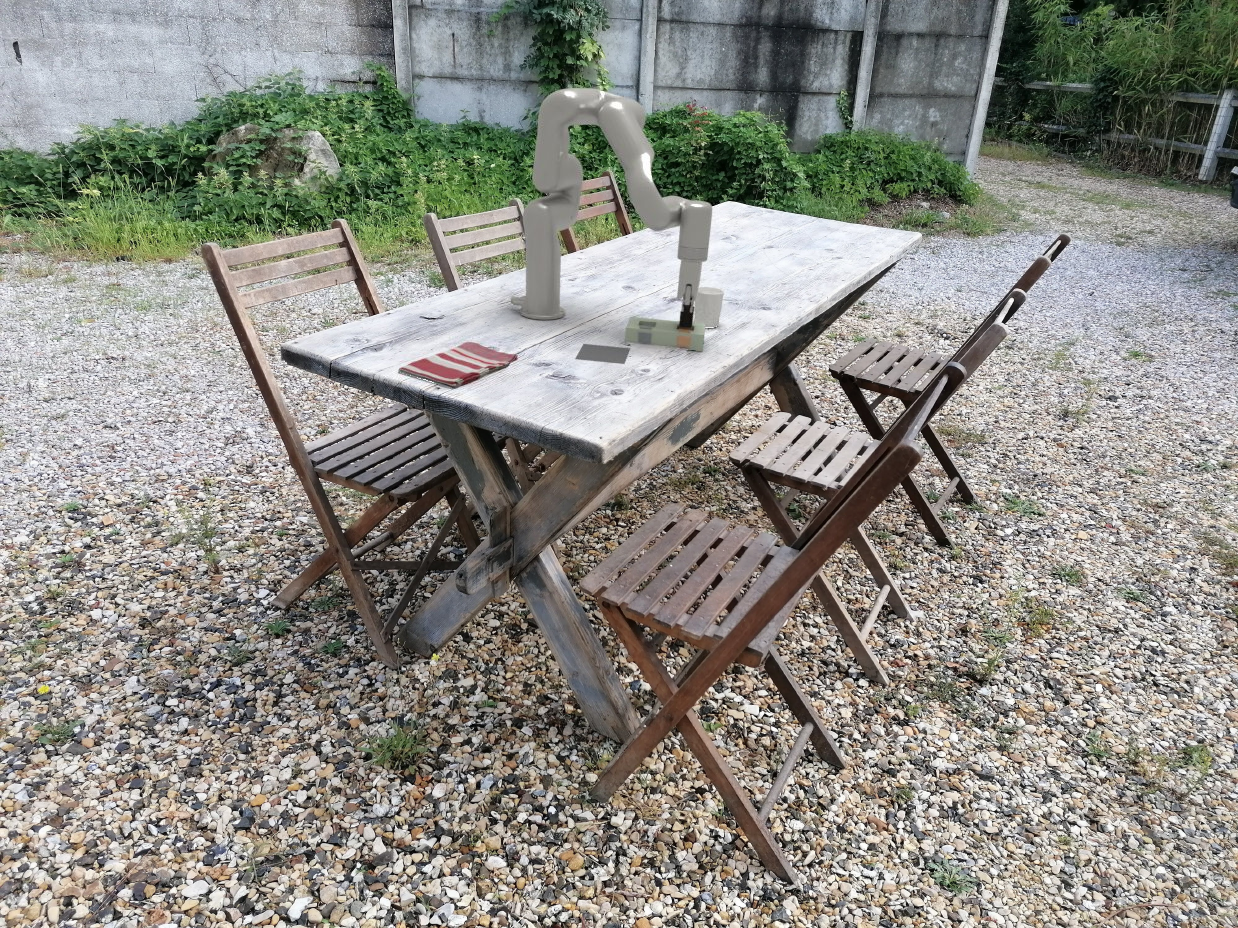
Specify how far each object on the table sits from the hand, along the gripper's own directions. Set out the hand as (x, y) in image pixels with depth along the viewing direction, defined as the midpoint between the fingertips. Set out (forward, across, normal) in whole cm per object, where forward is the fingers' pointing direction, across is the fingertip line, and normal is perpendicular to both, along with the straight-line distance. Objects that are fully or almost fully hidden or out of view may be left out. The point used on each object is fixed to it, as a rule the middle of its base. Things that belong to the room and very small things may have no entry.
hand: (686, 323), depth 216 cm
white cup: (+6, -19, +5) cm, 20 cm away
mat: (+6, +16, -19) cm, 25 cm away
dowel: (+6, 0, 0) cm, 6 cm away
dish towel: (+6, +33, -50) cm, 60 cm away
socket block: (+6, 0, -5) cm, 8 cm away
